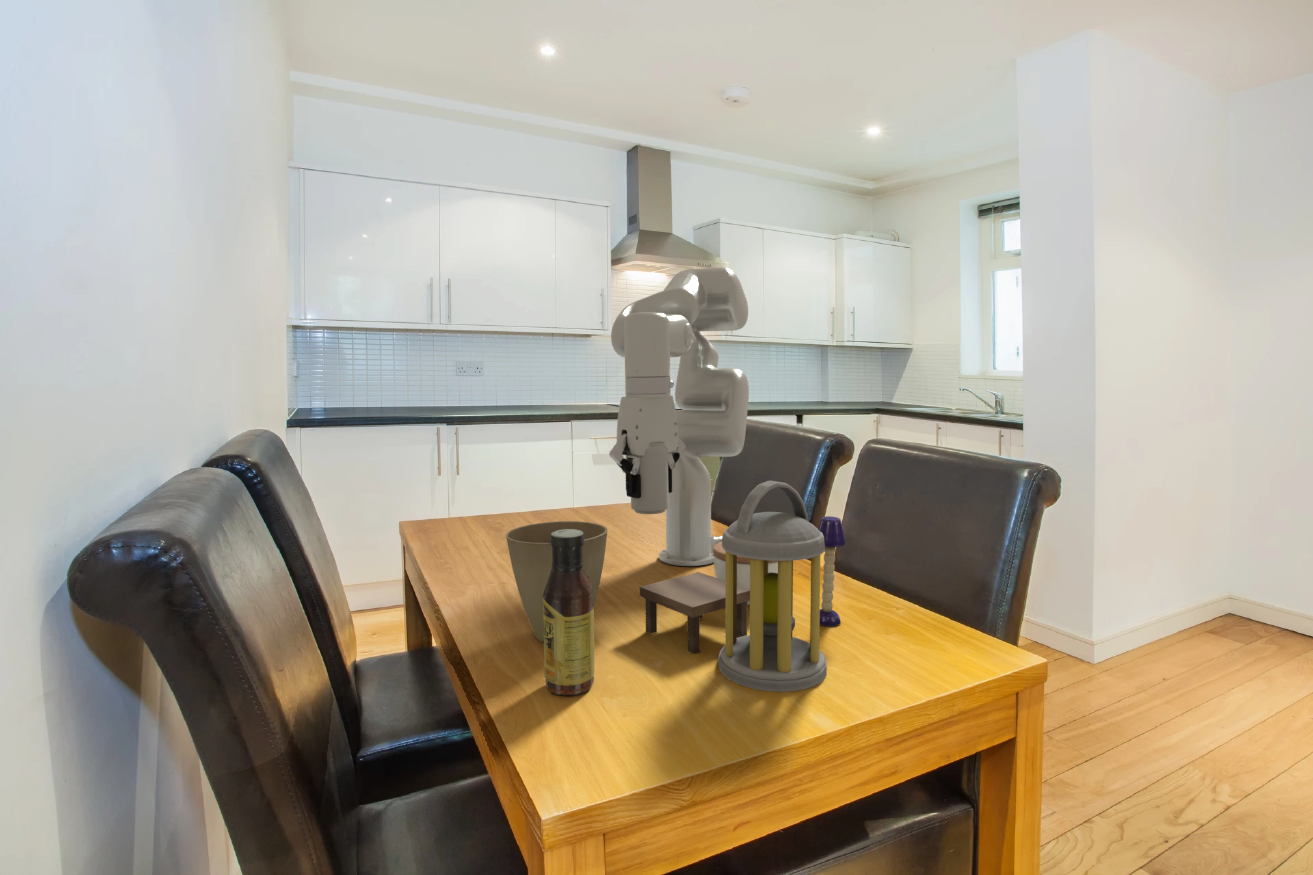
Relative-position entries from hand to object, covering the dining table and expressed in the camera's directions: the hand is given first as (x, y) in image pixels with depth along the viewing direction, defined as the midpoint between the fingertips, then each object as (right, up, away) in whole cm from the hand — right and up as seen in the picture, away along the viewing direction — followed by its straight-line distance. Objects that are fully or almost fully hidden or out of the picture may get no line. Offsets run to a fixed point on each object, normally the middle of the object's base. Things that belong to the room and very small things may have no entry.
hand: (649, 493), depth 114 cm
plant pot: (-13, -20, -12) cm, 27 cm away
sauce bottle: (-10, -22, -30) cm, 38 cm away
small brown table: (+7, -20, -12) cm, 25 cm away
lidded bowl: (+17, -19, +4) cm, 26 cm away
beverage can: (0, -3, 0) cm, 3 cm away
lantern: (+17, -21, -24) cm, 36 cm away
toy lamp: (+28, -20, -8) cm, 35 cm away
